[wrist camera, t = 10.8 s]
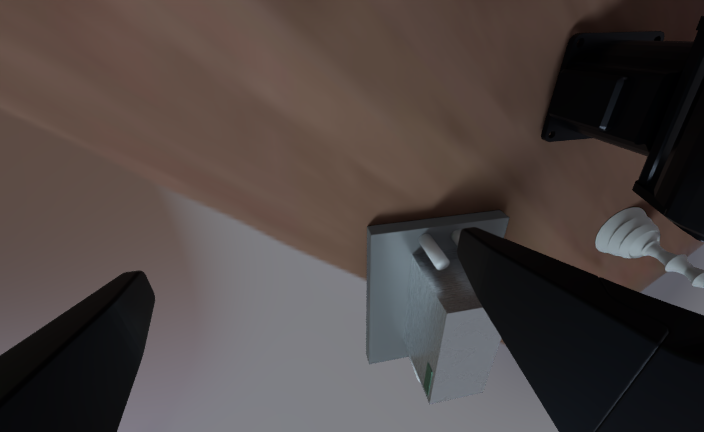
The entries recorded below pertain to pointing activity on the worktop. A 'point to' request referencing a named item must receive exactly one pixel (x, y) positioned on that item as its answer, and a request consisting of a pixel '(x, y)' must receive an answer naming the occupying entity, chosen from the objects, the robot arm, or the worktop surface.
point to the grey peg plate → (408, 272)
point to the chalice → (642, 243)
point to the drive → (447, 330)
